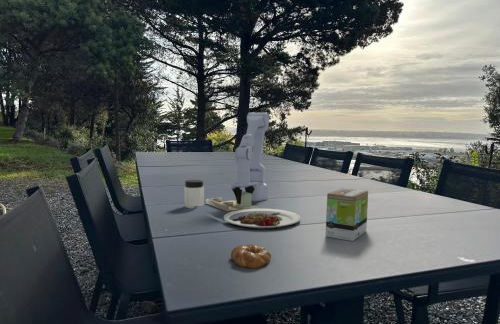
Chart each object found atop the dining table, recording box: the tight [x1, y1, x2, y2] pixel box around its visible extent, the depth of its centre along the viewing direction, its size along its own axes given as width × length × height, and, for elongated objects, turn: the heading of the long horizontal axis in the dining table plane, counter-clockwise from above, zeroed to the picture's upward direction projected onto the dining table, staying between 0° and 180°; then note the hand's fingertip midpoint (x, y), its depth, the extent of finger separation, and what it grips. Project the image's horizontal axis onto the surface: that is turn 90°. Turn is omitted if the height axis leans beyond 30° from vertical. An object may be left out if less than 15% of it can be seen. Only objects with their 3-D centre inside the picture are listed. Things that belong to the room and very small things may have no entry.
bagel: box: [230, 244, 272, 269], centre depth 100 cm, size 12×11×4 cm
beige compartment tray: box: [205, 197, 257, 212], centre depth 170 cm, size 16×20×3 cm
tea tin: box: [235, 190, 252, 207], centre depth 168 cm, size 4×7×6 cm, turn 32°
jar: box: [183, 179, 205, 209], centre depth 171 cm, size 9×8×12 cm
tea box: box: [325, 187, 369, 242], centre depth 126 cm, size 15×10×15 cm, turn 148°
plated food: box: [223, 208, 301, 229], centre depth 145 cm, size 30×30×3 cm
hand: (243, 203), depth 169 cm, fingers closed on tea tin, 4 cm apart
